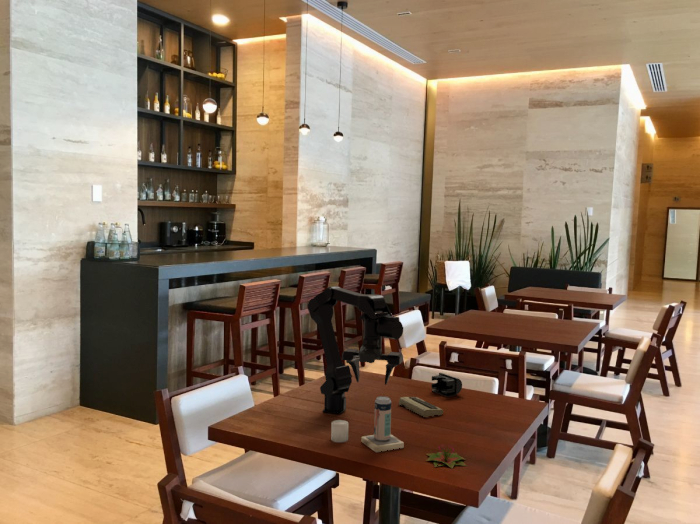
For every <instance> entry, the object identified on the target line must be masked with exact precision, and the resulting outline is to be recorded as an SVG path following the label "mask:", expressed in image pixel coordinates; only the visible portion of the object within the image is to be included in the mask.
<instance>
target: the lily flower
mask: <svg viewBox="0 0 700 524" xmlns="http://www.w3.org/2000/svg"><path fill="white" fill-rule="evenodd" d="M440 445H441V446H438V448H439V449H438V450H440V451H437V453H433V452H432V453H426V455H427V456H428V458H427V459H425V462H426V461H427V462H428V461H433V467H434V468H436V467H441V466H448V467H449V468H450V469H451V470H453V468H454V466H463V467H467V464H466V463H465V462H463V461H462V460H467V459H466V458H464V457H462V456H460V455H459V454H458V452H454V451H455V449H454V447H453V445H451V446H450V444H448V446H447V449H446V447H444V446H443V444H440ZM449 446H450V447H449ZM451 450H452V451H451ZM443 460H444V461H443ZM448 460H449V461H448ZM447 461H448V462H447ZM440 462H441V463H443V464H442V465H441V464H440ZM438 464H439V465H438ZM437 465H438V466H437Z"/></svg>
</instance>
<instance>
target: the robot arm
mask: <svg viewBox="0 0 700 524" xmlns="http://www.w3.org/2000/svg"><path fill="white" fill-rule="evenodd" d="M338 302H342V303H344V304H348V305H351V306H354V307H356V308H357V309H358V311H360V312H361V313H362V314H361V315H359V317H358V319H359V320H363V339H362V344H361V346H360V348H359V349H358V348H346V349H345V350H344V351H342V353H341V354H340V349H339V346H338V342H337V338H336V335H335V329H334V326H333V323H332V322H333V321H332V320H333V317H334V307H335V306H336V305H337V303H338ZM307 310H308V313H309V316H310V318H311V319H312V320H313V322H314V323H315V324H316V325H317V329H318V334H319V338H320V341H321V344H322V345H321V346H322V348H323V349H322V350H323V352H324V357H325V360H326V365H327V366H326V370H325V373H324V376H325V381H324V382H323V383H322V385H321V386H319V390H320V393H321V394H322V395H324V406H323V407H324V409H322V413H329V414H336V415H337V414H338V415H340V414H342V413H344V411H345V410H346V409H347V397H346V393H348V392H349V390H350V386H351V384H352V383H353V382H352V381H353V379H352V378H353V375H352V373H351V368H352V371H353V374H354V377H355V381H356V382H357V383H359V382H360V375H361V374H360V363H369V364H373V363H375V361H384V362H385V361H386V364H385V377H384V385H385V386H386V385H387V384H388V382H389V379H390V377H391V374H392V371H393V370H394V368H396V367H397V366H398V365H401V364H402V363H403V361H404V356H403V354H402V352H396V351H390V352H389V353H388V354H385V353H383V348H382V342H383V338H387V339H390V340H391V339H392V340H399V339H400V338H401V337H402V336H403V333H404V326H403V323H402V322H401V321H400V317H399V316H393V314H392V313H391V310H390V309H389V306H388V304H387V302H386V300H385V296H383V295H381V294H363V293H360V292H357V291H353V290H349V289H346V288H342V287H340V286H337V285H336V286H335V285H334V286H328V287H326V288H325V289H324V290H323V291H322V292H320V293H319V294H317V295H316V296H314V297H313V298H311V299H309V301H308V303H307ZM343 361H345V363H346V364H349V365H345V363H344V362H343Z"/></svg>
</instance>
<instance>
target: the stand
mask: <svg viewBox="0 0 700 524" xmlns="http://www.w3.org/2000/svg"><path fill="white" fill-rule="evenodd" d="M360 439H361V442H362V444H364V445H365V446H366V447H368V448H369V449H371V450H372V451H373V452H375V453H382V452H387V450H388V451H392V450H393V449H394V450H399V448H400V449H404V448H405V446H404V445H405V443H404V441H402V440H401V439H400V438H398V437H396V436H394V435H393V434H391V436H390V439H389V440H387V441H378V440H376V439H375V438H374V434H370V435H364V436H361V438H360ZM381 451H382V452H381Z"/></svg>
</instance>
